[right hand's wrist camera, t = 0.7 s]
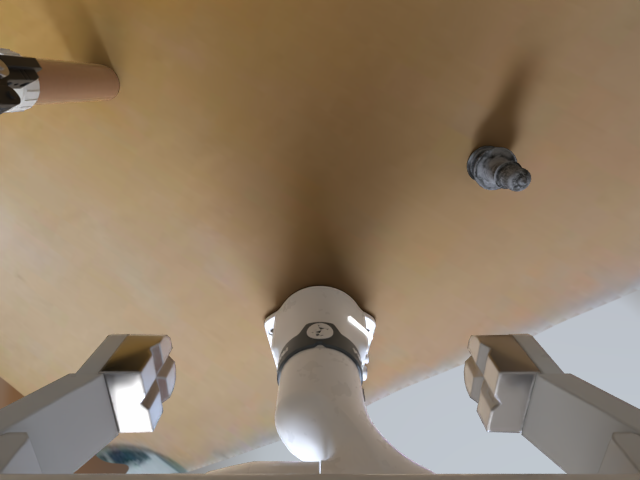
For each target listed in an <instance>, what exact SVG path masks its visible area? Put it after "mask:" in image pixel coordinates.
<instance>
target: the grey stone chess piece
mask: <svg viewBox="0 0 640 480" xmlns="http://www.w3.org/2000/svg"><path fill="white" fill-rule="evenodd" d="M467 170H468V173H469V175H470V177H471V178H472V179H474V180H475V181H476V182H477V183H478V184H479V185H480V186H481V187H483V188H484V189H488V190H497V189H500V188H503V189H510V190H512V191H522V190H524V189H525V188H526V187H528V185H529V184H530V182H531V175H530V173H529V172H528V170H526V169H524V168H522V167H521V165H520V164H519V163H517V159H516V157H515V155H514V154H513V153H512V151H510V150H508V149H506V148H502V147H493V146H483V147H480V148H478V149H477V150H475V151H474V152H473V153H472V154H471V156H470V157H469V160H468V163H467Z"/></svg>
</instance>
